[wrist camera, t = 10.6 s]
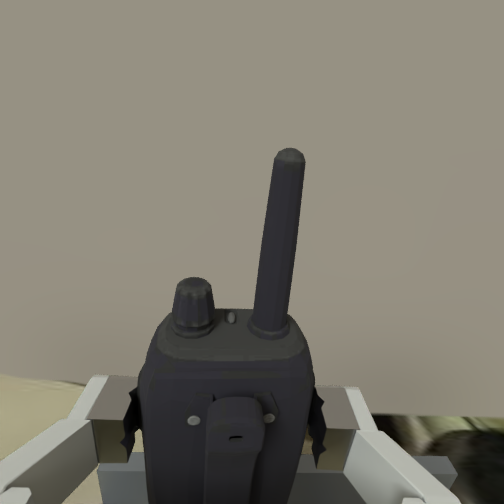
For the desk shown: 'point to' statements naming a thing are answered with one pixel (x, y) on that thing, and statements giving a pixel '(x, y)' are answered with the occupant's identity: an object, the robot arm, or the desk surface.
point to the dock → (302, 493)
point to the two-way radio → (231, 378)
